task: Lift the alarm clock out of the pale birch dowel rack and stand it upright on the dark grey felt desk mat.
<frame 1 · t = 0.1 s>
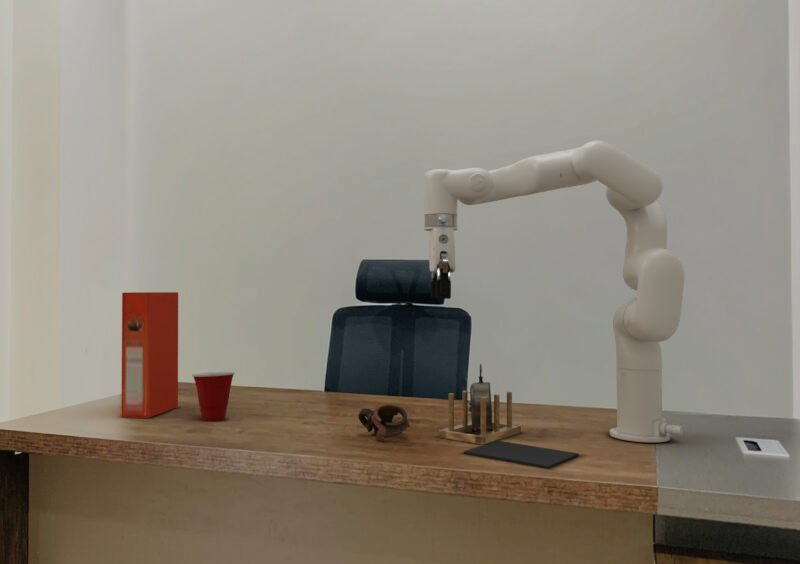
hand: (440, 298, 163), 31 cm above the table, tool pointing down, fingers open, 9 cm apart
dowel rack: (480, 434, 163), on the table
plastic cup: (212, 419, 180), on the table
pottery mug: (383, 437, 160), on the table
desk mat: (521, 454, 143), on the table
file binder: (150, 413, 190), on the table
alarm clock: (480, 435, 163), resting in dowel rack
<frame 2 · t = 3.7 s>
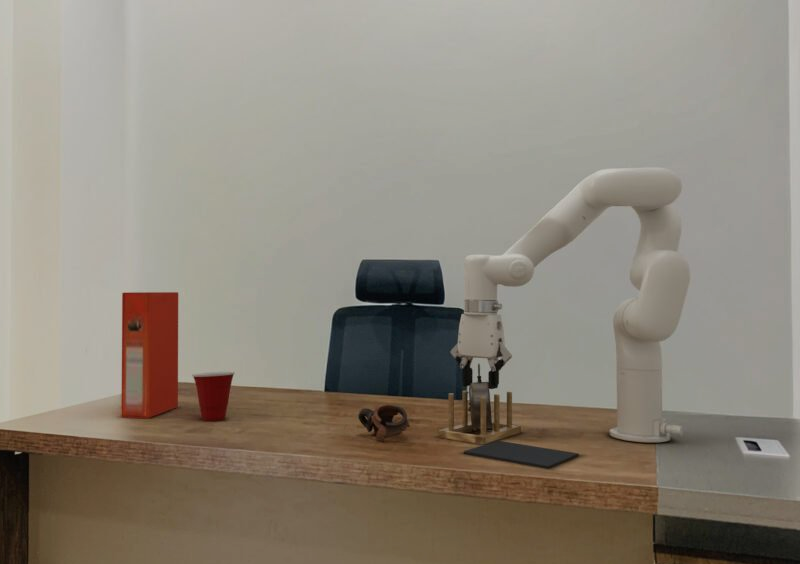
hand: (480, 386, 163), 11 cm above the table, tool pointing down, fingers closed on alarm clock, 5 cm apart
alarm clock: (480, 435, 163), resting in dowel rack, touching gripper
everything else where it was.
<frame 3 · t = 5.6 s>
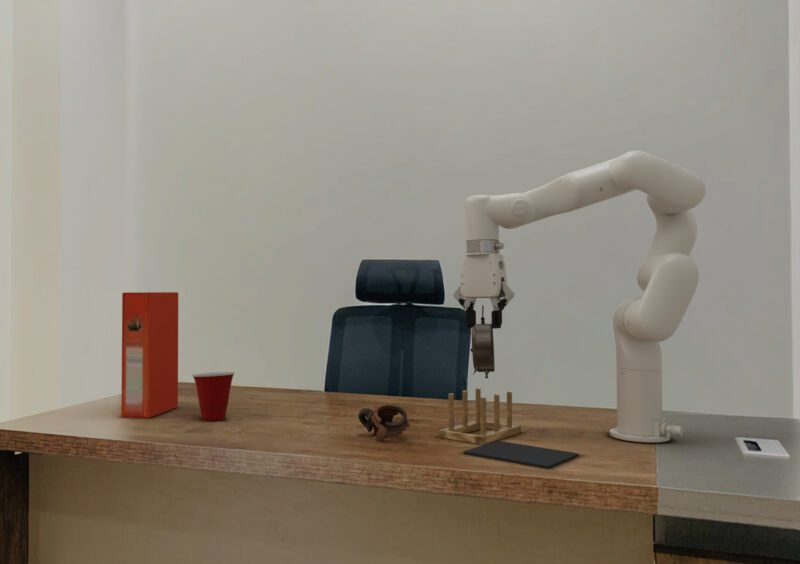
hand: (483, 327, 163), 25 cm above the table, tool pointing down, fingers closed on alarm clock, 5 cm apart
alarm clock: (482, 377, 162), point 13 cm above the table, touching gripper
everything else where it was.
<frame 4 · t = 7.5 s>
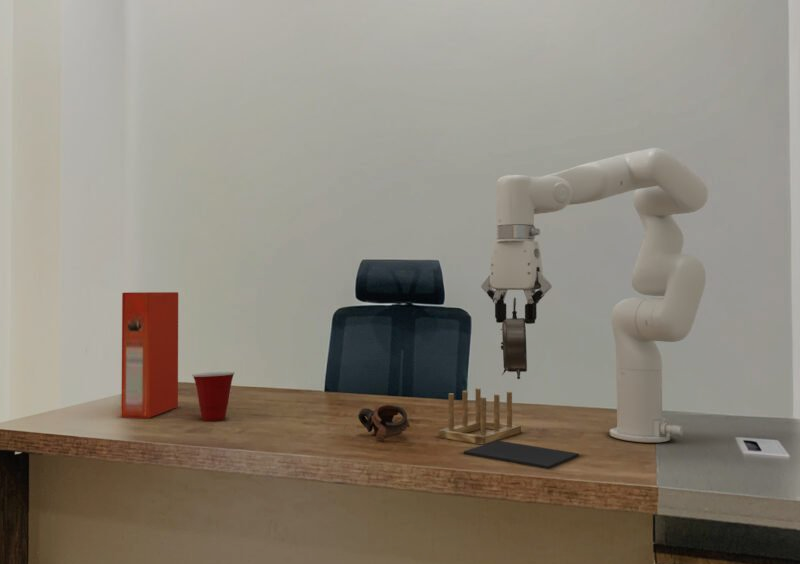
hand: (515, 322, 146), 27 cm above the table, tool pointing down, fingers closed on alarm clock, 5 cm apart
alarm clock: (513, 377, 146), point 15 cm above the table, touching gripper
everything else where it was.
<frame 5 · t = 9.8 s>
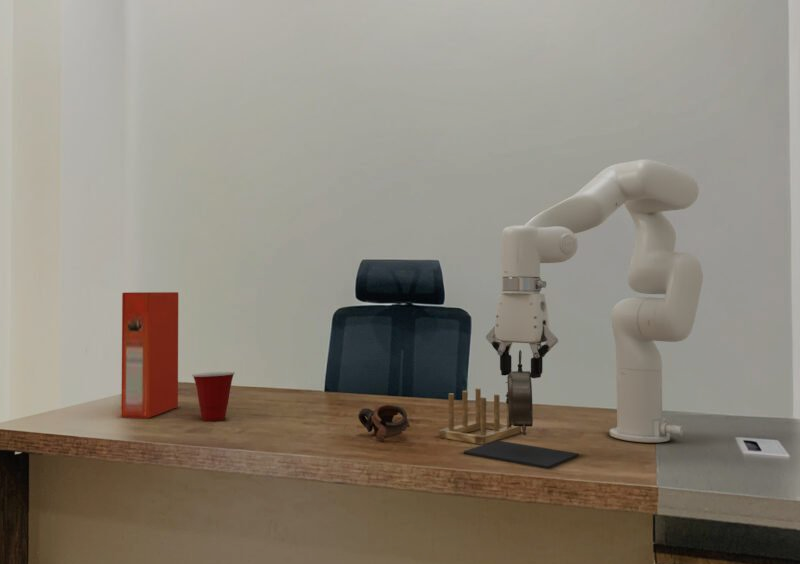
hand: (520, 375, 144), 16 cm above the table, tool pointing down, fingers closed on alarm clock, 5 cm apart
alarm clock: (518, 431, 143), point 5 cm above the table, touching gripper
everything else where it was.
when the fingers open (12 cm above the table, at t = 11.3 s): alarm clock stays where it is, resting on desk mat.
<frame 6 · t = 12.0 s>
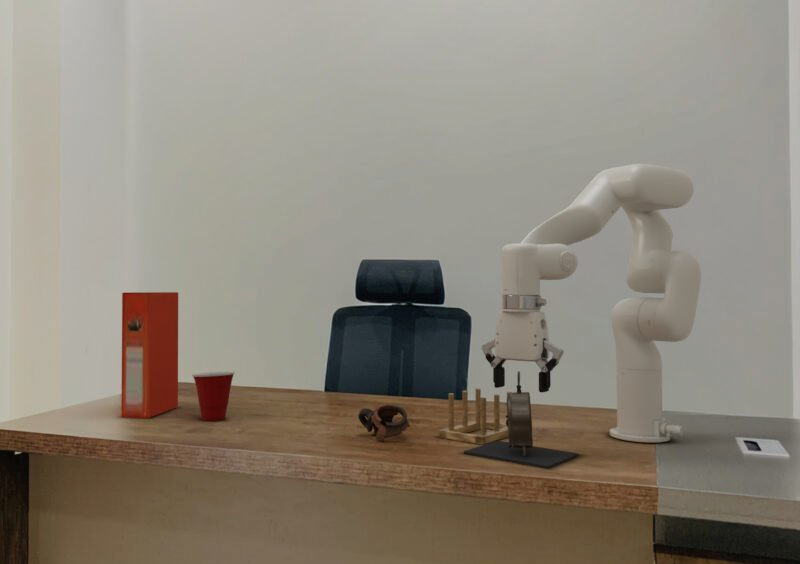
hand: (521, 389, 144), 13 cm above the table, tool pointing down, fingers open, 9 cm apart
alarm clock: (518, 453, 143), resting on desk mat
everything else where it was.
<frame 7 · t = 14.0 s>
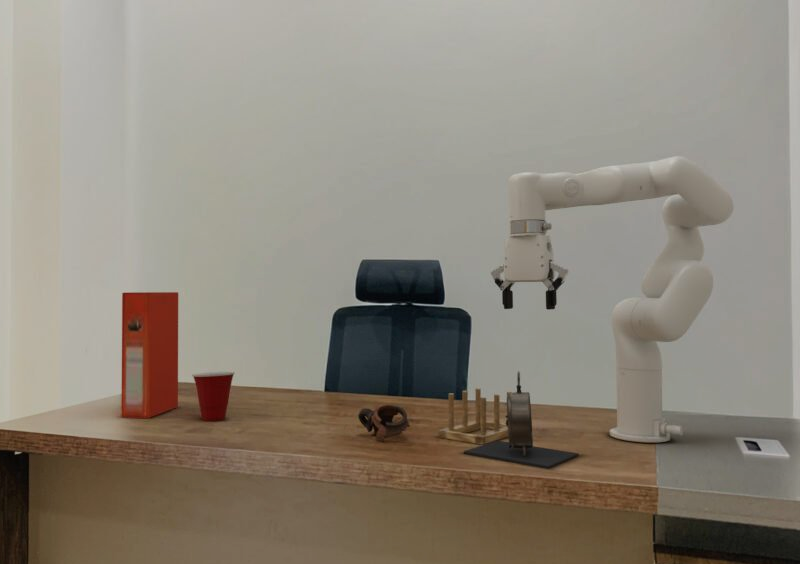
hand: (529, 309, 154), 29 cm above the table, tool pointing down, fingers open, 9 cm apart
nothing on the table moved.
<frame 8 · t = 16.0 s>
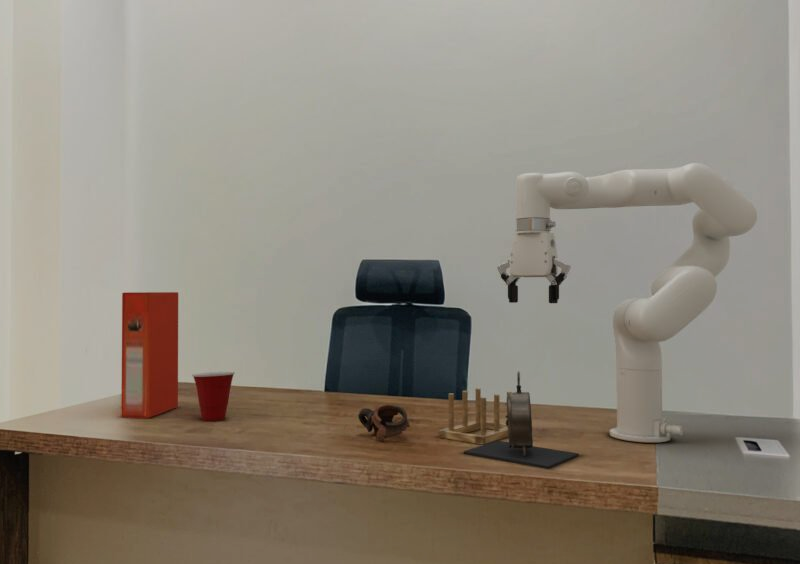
hand: (532, 302, 162), 30 cm above the table, tool pointing down, fingers open, 9 cm apart
nothing on the table moved.
at the end: alarm clock inside the target area (0.4 cm from its centre), resting on desk mat; alarm clock tilted 0°; alarm clock touching desk mat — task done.
